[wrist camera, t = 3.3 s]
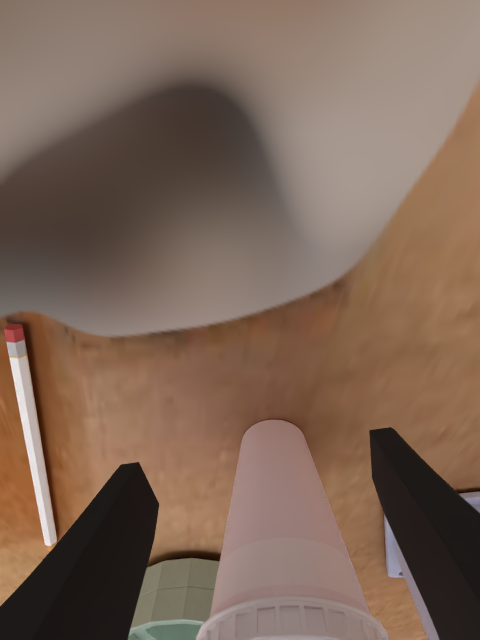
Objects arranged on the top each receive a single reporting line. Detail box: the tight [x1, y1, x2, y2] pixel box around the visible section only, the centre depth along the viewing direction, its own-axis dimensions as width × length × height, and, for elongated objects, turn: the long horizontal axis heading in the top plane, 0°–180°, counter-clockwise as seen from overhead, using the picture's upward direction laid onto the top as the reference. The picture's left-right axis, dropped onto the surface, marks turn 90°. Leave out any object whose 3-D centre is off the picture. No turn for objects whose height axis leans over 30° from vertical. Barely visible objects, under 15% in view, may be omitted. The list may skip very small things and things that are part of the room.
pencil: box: [4, 323, 57, 551], centre depth 19 cm, size 1×19×1 cm, turn 171°
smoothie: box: [196, 420, 389, 640], centre depth 12 cm, size 6×6×14 cm
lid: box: [128, 558, 220, 640], centre depth 24 cm, size 11×11×4 cm
